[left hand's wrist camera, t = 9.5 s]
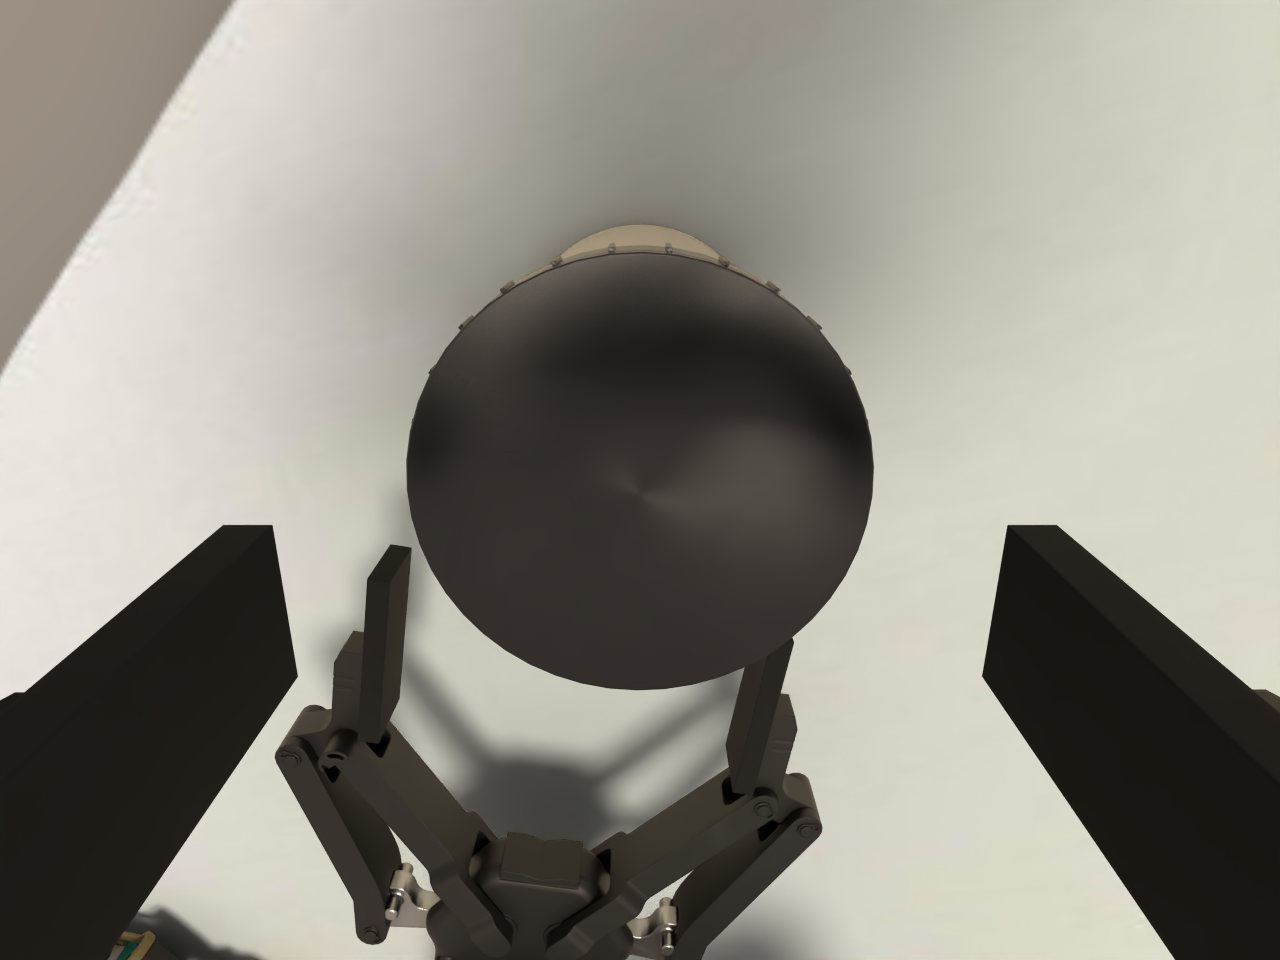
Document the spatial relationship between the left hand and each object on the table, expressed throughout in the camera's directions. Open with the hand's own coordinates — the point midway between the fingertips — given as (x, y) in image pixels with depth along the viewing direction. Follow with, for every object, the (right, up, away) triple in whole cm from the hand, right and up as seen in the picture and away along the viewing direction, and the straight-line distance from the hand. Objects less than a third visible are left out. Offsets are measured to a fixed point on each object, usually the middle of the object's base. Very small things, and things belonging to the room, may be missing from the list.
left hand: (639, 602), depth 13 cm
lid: (0, +2, +5) cm, 5 cm away
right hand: (-2, -2, +16) cm, 16 cm away
